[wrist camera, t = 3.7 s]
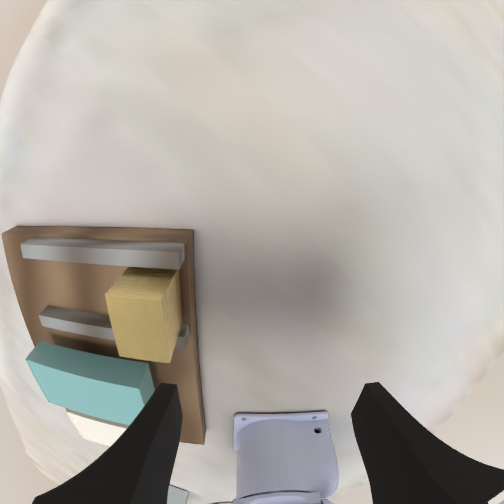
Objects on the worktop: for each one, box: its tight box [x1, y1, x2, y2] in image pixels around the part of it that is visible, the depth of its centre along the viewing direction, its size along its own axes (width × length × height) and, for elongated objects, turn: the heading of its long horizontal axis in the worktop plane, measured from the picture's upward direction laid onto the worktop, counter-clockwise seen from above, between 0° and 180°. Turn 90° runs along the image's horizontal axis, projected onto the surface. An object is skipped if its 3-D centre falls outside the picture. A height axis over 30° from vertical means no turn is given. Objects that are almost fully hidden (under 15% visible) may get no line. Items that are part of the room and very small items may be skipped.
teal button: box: [26, 341, 155, 425], centre depth 17 cm, size 10×5×2 cm, turn 87°
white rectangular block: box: [66, 409, 129, 446], centre depth 21 cm, size 10×5×2 cm, turn 87°
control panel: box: [2, 226, 206, 445], centre depth 20 cm, size 16×22×4 cm
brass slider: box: [105, 267, 183, 363], centre depth 15 cm, size 3×4×4 cm
